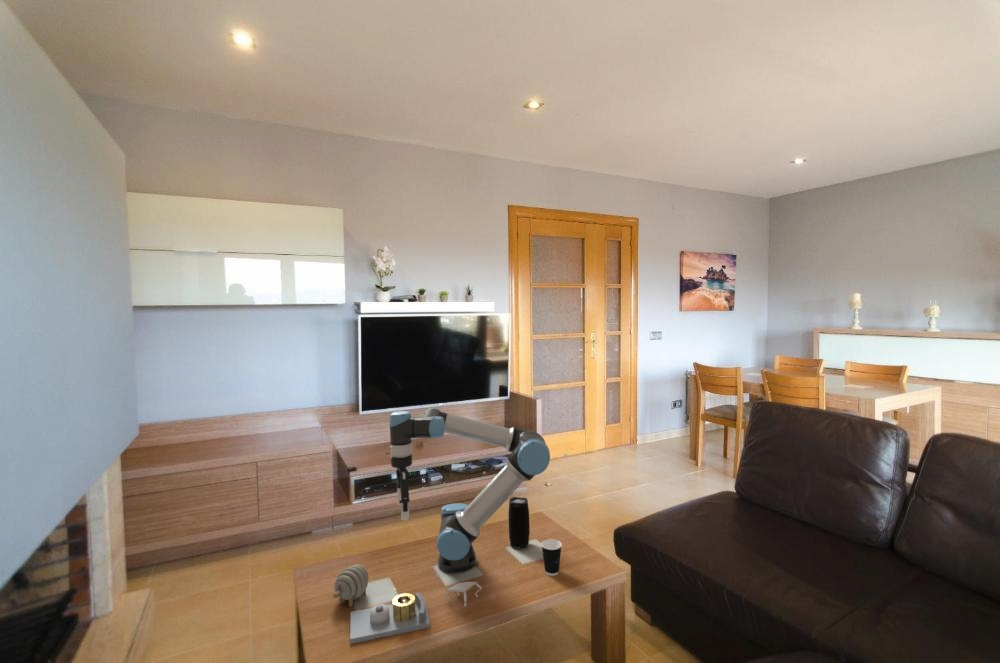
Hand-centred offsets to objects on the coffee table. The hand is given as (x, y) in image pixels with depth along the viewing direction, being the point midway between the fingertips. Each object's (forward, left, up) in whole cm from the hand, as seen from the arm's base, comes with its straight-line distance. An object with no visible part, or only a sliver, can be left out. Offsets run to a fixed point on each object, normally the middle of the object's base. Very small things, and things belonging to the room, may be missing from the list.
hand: (403, 512), depth 178 cm
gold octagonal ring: (+2, +21, -25) cm, 33 cm away
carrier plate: (+7, +21, -27) cm, 34 cm away
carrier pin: (+2, +21, -25) cm, 33 cm away
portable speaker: (-49, -14, -27) cm, 58 cm away
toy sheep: (+19, +4, -27) cm, 33 cm away
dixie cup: (-54, +10, -27) cm, 61 cm away
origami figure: (-19, +16, -27) cm, 37 cm away
